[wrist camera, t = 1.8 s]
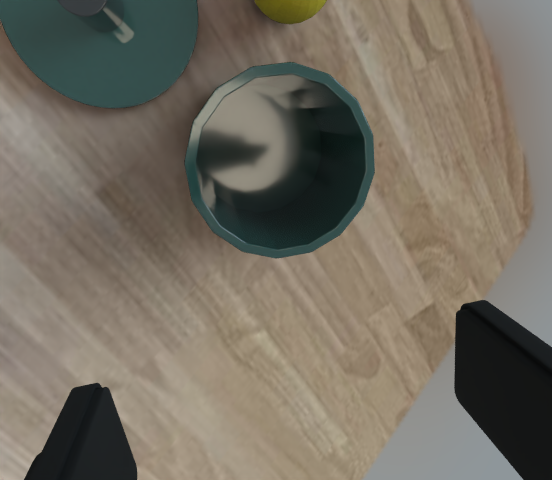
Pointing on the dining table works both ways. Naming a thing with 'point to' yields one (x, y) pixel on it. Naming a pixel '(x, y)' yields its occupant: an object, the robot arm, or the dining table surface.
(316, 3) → the lemon
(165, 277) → the dining table surface
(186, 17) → the lid
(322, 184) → the pot
